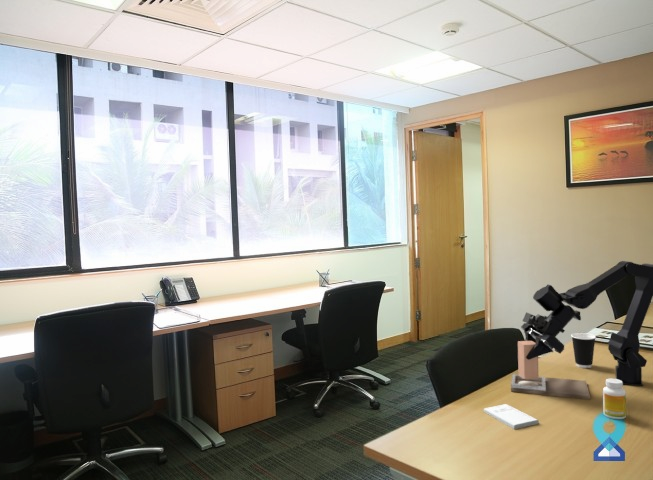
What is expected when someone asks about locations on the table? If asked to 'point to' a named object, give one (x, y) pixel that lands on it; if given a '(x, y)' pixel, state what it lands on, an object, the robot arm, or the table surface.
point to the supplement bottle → (614, 399)
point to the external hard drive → (511, 416)
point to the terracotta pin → (527, 361)
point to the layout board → (550, 387)
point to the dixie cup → (583, 349)
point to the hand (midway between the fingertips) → (523, 356)
